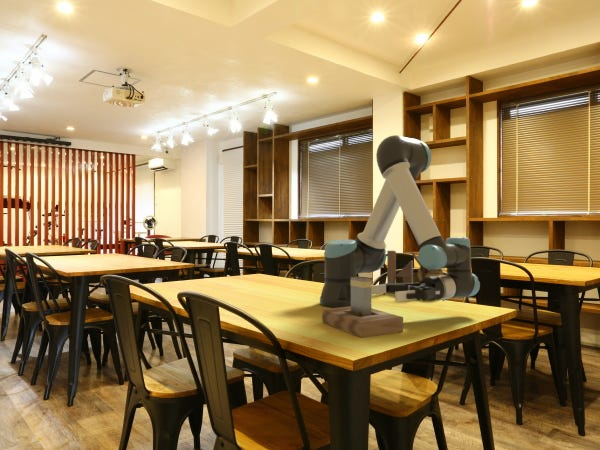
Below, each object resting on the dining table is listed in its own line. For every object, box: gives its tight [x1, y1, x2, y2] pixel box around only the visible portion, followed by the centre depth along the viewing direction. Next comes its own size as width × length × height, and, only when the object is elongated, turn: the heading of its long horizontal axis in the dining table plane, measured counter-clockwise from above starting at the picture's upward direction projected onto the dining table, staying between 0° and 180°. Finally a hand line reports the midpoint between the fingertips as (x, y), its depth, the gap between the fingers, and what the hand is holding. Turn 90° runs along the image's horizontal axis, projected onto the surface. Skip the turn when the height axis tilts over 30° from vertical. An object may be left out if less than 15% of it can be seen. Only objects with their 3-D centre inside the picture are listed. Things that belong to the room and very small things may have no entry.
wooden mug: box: [411, 252, 445, 283], centre depth 184 cm, size 9×14×18 cm, turn 71°
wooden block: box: [385, 250, 414, 294], centre depth 194 cm, size 4×11×18 cm, turn 66°
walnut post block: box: [321, 306, 404, 338], centre depth 131 cm, size 20×14×4 cm
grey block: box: [351, 276, 373, 317], centre depth 131 cm, size 6×3×14 cm, turn 27°
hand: (381, 293), depth 134 cm, fingers open, 13 cm apart
